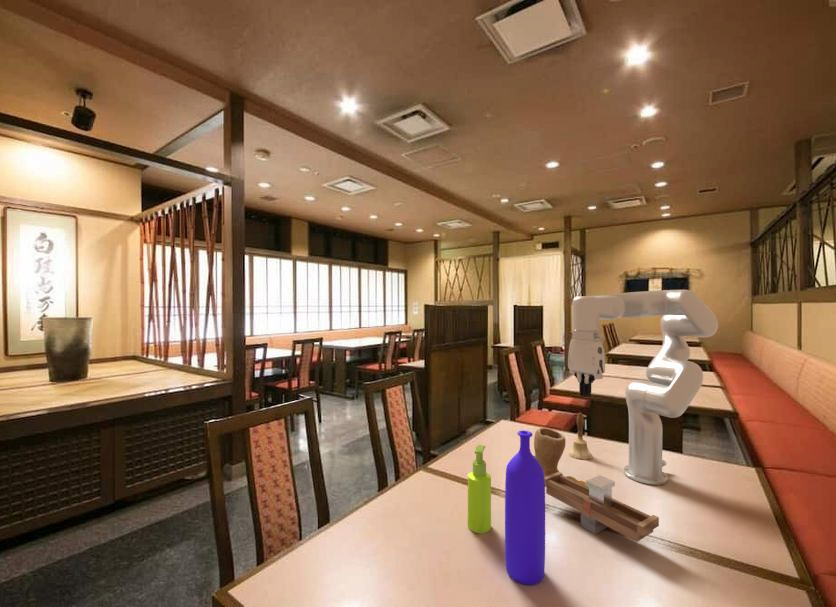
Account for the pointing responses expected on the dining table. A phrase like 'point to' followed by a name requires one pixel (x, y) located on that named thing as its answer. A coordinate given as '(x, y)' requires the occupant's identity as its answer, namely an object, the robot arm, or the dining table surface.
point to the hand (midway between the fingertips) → (585, 395)
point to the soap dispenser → (479, 495)
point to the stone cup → (548, 449)
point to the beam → (600, 509)
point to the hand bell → (580, 442)
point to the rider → (601, 490)
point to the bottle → (525, 516)
